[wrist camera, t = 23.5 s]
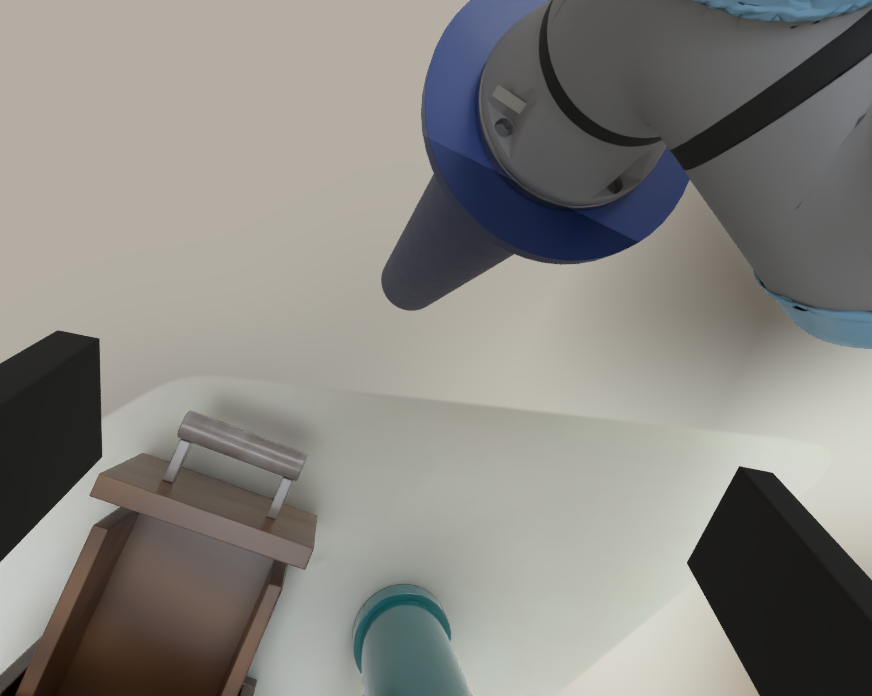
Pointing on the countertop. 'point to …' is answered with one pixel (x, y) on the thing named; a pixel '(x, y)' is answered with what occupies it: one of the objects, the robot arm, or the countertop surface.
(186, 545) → the drawer
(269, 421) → the countertop surface
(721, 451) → the countertop surface
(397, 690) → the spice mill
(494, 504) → the countertop surface
